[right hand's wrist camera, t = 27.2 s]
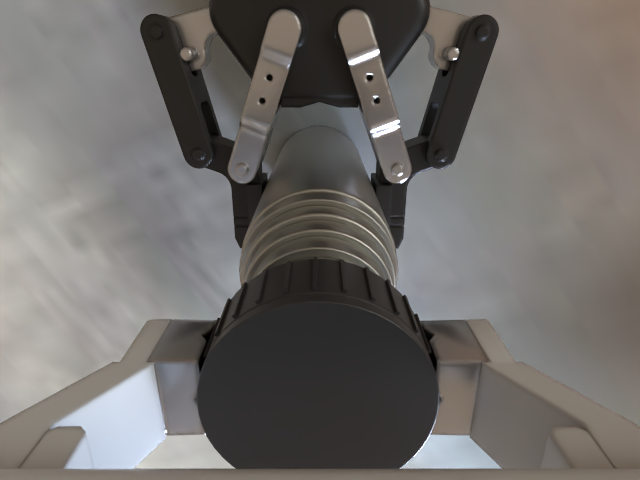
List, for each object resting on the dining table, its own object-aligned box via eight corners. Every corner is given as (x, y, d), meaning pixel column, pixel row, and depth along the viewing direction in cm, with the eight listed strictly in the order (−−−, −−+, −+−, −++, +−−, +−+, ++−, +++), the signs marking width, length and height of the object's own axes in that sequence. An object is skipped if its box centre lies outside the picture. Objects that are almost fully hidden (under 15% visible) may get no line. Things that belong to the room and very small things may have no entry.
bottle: (261, 180, 27) (153, 409, 9) (306, 108, 25) (277, 222, 8) (330, 223, 28) (348, 502, 10) (378, 157, 26) (492, 353, 9)
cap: (170, 341, 10) (140, 398, 8) (328, 210, 9) (330, 245, 7) (309, 459, 11) (307, 528, 10) (463, 357, 10) (491, 416, 9)
